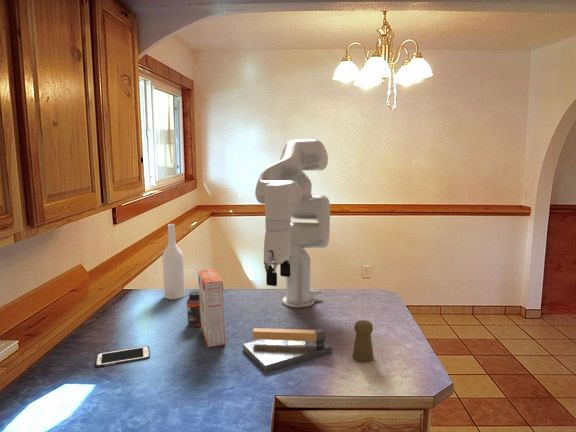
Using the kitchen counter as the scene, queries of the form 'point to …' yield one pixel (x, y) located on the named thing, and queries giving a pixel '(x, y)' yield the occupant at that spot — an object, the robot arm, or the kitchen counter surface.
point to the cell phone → (122, 356)
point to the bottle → (173, 268)
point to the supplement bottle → (194, 309)
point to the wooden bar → (289, 334)
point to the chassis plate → (284, 352)
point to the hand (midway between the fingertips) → (278, 280)
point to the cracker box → (211, 307)
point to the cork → (363, 342)
